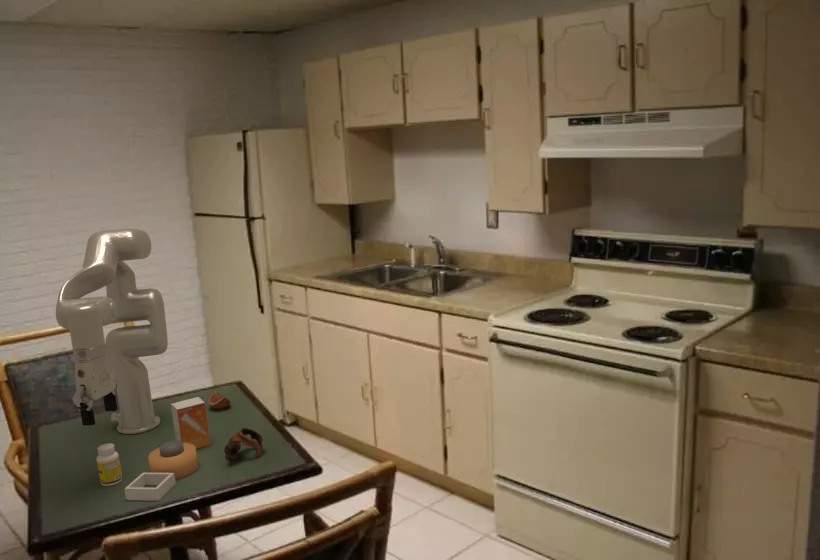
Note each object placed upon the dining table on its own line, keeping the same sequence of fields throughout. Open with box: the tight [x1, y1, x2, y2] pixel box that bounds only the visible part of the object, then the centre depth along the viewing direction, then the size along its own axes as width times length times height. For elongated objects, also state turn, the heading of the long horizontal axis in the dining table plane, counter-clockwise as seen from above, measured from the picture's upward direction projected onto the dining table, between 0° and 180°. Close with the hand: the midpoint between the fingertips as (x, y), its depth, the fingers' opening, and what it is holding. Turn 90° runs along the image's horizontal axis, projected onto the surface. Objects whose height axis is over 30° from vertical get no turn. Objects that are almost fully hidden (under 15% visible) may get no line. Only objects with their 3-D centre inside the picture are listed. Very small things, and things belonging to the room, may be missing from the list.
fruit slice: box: [207, 390, 231, 409], centre depth 237 cm, size 8×7×5 cm
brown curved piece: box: [223, 427, 264, 461], centre depth 198 cm, size 12×10×8 cm
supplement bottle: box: [96, 443, 123, 487], centre depth 189 cm, size 5×5×10 cm
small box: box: [170, 396, 211, 450], centre depth 207 cm, size 8×6×13 cm
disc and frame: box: [124, 439, 199, 502], centre depth 188 cm, size 12×22×7 cm, turn 170°
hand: (100, 417), depth 186 cm, fingers open, 9 cm apart
